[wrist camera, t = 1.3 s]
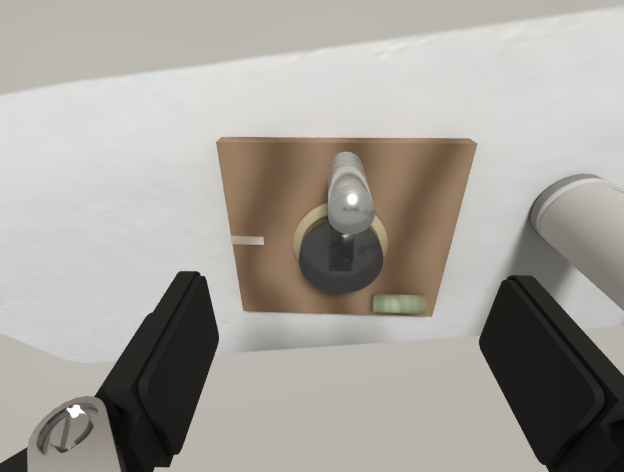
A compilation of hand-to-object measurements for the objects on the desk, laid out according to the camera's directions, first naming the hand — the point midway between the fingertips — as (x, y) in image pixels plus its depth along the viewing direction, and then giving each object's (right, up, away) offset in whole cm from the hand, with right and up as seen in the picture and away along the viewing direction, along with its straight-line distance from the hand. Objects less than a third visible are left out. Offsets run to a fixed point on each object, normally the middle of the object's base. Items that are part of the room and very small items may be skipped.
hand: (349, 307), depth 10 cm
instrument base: (+1, +3, +20) cm, 20 cm away
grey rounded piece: (+1, +4, +16) cm, 17 cm away
